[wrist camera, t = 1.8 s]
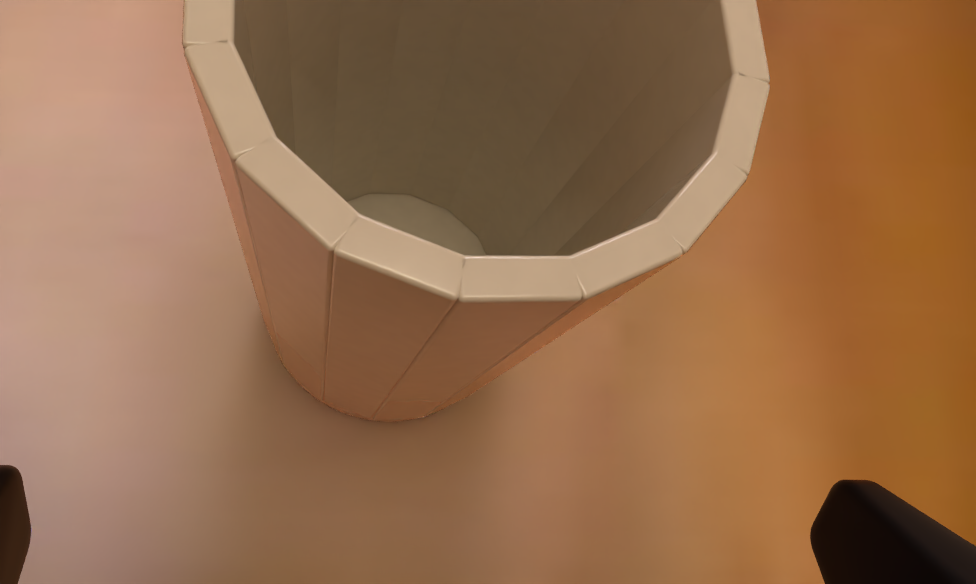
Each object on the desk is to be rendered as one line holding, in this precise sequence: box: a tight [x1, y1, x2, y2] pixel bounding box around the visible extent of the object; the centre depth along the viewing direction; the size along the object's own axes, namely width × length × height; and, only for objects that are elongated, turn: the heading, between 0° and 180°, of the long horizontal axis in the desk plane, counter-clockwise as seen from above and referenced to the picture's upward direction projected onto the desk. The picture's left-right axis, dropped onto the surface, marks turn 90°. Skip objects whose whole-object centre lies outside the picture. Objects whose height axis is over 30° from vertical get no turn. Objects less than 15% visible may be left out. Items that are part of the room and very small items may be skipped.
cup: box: [182, 0, 770, 422], centre depth 14 cm, size 7×7×13 cm
